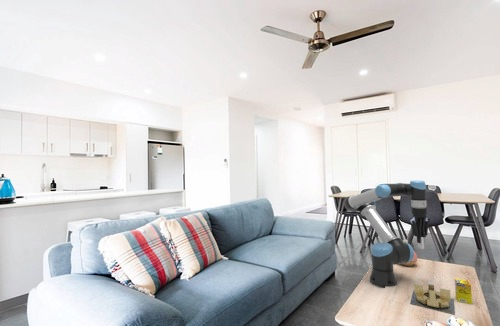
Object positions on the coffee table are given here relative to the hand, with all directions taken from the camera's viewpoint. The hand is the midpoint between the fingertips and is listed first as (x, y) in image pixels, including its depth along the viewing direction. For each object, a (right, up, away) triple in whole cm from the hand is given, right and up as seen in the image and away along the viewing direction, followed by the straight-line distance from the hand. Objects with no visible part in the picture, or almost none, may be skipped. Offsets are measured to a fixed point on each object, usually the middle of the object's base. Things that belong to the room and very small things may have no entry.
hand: (421, 248), depth 147 cm
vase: (+15, -25, +38) cm, 48 cm away
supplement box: (+12, -23, -15) cm, 30 cm away
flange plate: (-4, -24, -15) cm, 28 cm away
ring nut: (-4, -23, -15) cm, 27 cm away
